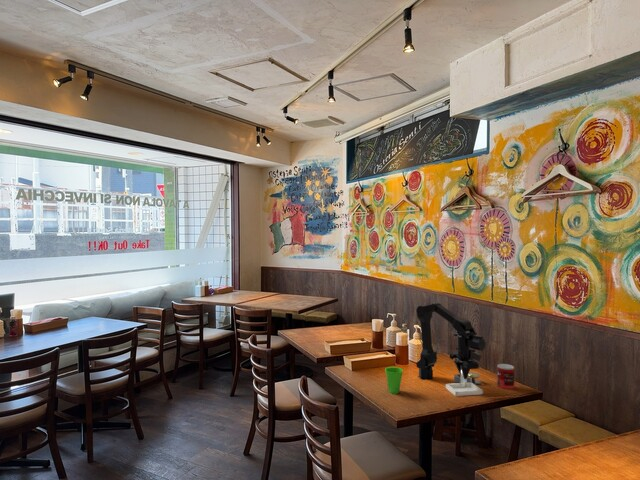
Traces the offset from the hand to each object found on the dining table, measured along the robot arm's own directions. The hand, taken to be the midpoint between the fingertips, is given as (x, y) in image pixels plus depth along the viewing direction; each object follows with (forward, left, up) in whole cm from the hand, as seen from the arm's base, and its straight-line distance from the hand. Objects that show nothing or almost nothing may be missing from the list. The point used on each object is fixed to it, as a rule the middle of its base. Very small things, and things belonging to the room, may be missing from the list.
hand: (463, 377), depth 202 cm
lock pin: (0, 0, -4) cm, 4 cm away
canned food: (+24, +2, -7) cm, 25 cm away
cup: (-34, +5, -7) cm, 35 cm away
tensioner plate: (+8, +11, -7) cm, 15 cm away
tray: (0, 0, -7) cm, 7 cm away
